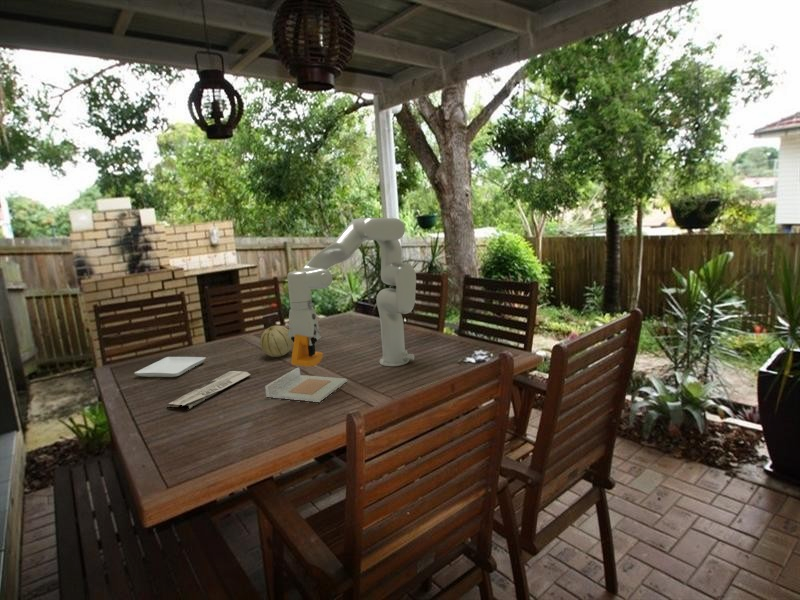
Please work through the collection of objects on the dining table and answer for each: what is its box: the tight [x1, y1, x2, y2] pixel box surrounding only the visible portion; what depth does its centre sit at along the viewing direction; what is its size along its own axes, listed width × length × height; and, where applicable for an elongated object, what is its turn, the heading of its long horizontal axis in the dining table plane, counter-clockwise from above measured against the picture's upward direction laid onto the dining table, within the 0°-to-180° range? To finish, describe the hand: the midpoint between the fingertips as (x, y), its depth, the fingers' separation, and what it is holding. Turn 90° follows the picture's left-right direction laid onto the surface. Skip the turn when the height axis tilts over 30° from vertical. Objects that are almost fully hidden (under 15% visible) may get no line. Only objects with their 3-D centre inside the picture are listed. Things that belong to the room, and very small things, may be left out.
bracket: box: [291, 334, 324, 368], centre depth 165 cm, size 11×7×12 cm, turn 162°
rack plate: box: [264, 367, 348, 402], centre depth 168 cm, size 22×20×4 cm
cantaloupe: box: [259, 325, 294, 358], centre depth 212 cm, size 15×15×15 cm
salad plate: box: [134, 356, 207, 378], centre depth 203 cm, size 21×21×3 cm
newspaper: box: [165, 370, 251, 410], centre depth 174 cm, size 35×12×4 cm, turn 162°
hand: (306, 354), depth 166 cm, fingers closed on bracket, 4 cm apart
